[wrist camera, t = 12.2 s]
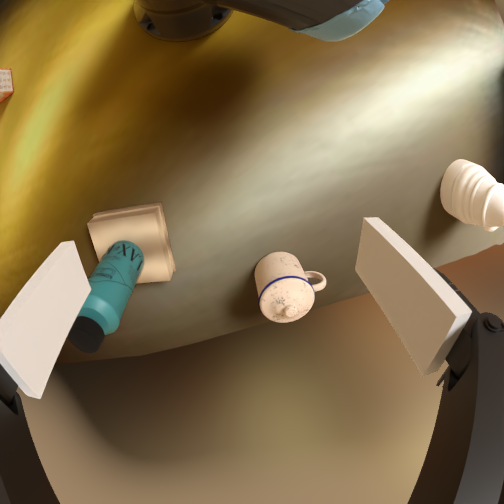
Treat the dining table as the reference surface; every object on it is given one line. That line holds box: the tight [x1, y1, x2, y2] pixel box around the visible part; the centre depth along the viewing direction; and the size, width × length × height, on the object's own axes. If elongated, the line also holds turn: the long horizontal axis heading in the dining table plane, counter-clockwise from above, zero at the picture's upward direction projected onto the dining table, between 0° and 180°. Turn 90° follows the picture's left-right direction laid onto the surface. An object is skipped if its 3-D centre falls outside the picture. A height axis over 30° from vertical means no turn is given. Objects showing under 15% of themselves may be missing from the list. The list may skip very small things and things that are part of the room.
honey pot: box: [440, 159, 504, 232], centre depth 38 cm, size 13×13×18 cm
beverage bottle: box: [68, 240, 145, 353], centre depth 33 cm, size 6×7×20 cm
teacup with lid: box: [255, 252, 326, 323], centre depth 46 cm, size 12×9×12 cm
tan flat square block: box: [87, 202, 176, 283], centre depth 43 cm, size 13×13×4 cm
